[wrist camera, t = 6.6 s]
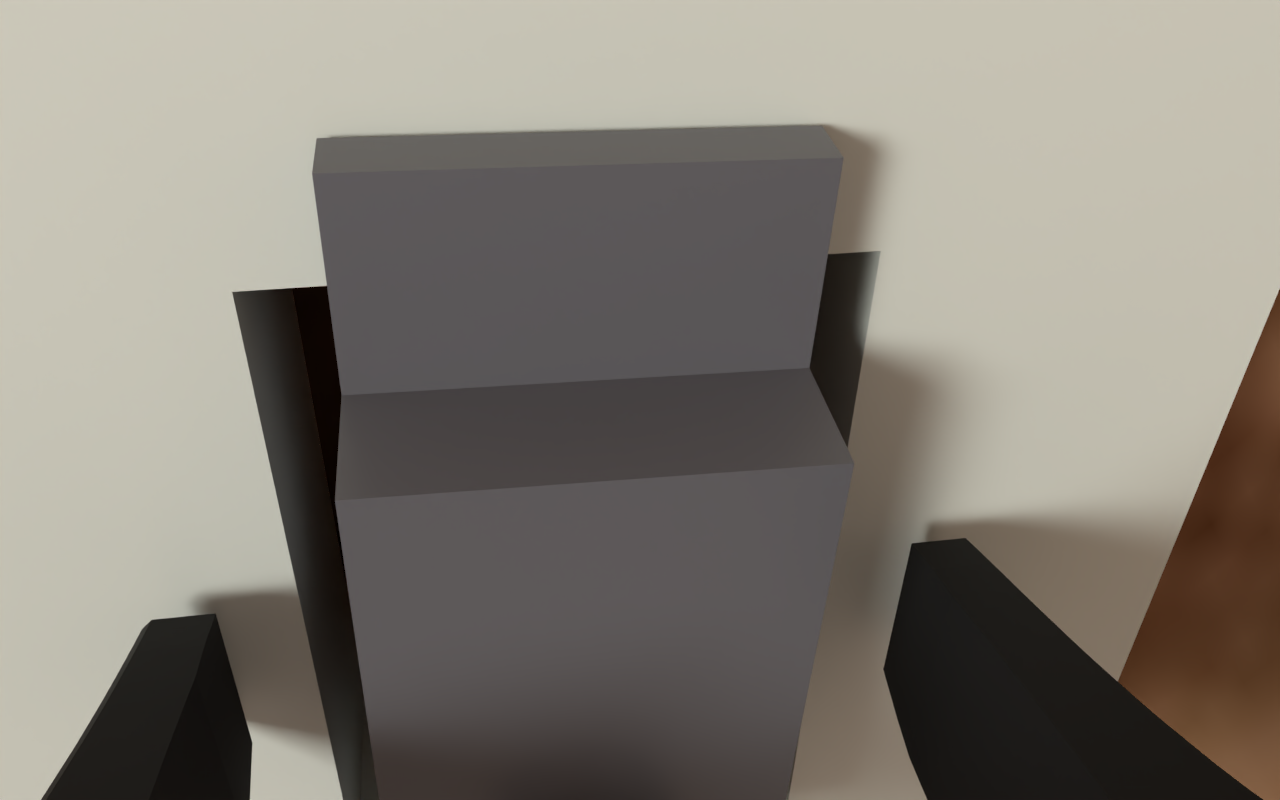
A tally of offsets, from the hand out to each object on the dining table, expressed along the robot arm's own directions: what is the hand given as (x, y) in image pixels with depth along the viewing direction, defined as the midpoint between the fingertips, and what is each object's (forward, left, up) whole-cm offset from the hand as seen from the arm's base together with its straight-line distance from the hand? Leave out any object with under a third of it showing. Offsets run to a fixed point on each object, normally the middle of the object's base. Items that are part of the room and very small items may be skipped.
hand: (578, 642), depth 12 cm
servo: (0, 0, -3) cm, 3 cm away
